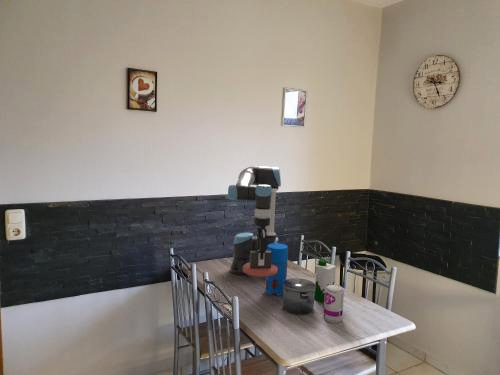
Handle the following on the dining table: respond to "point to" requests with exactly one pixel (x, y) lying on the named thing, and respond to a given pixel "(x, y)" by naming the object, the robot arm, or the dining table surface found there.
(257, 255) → the lid
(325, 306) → the supplement can
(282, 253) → the thermos
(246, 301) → the dining table surface
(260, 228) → the robot arm
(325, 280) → the milk carton
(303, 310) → the pot
